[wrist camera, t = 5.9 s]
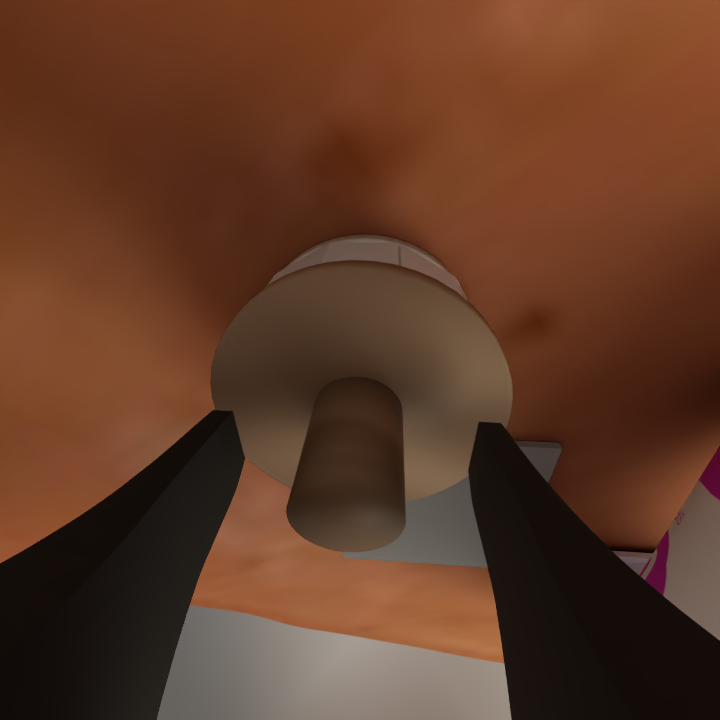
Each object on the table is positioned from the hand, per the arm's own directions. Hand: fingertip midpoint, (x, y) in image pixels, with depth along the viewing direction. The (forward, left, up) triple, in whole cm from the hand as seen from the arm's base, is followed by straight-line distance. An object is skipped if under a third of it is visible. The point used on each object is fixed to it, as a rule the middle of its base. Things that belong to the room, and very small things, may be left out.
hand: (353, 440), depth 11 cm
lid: (0, 0, -2) cm, 2 cm away
